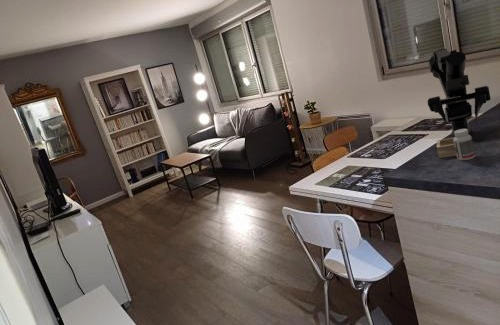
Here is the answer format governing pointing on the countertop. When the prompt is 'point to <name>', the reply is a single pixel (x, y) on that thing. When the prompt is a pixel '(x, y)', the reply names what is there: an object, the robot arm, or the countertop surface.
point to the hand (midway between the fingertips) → (460, 119)
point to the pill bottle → (463, 145)
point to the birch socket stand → (446, 147)
